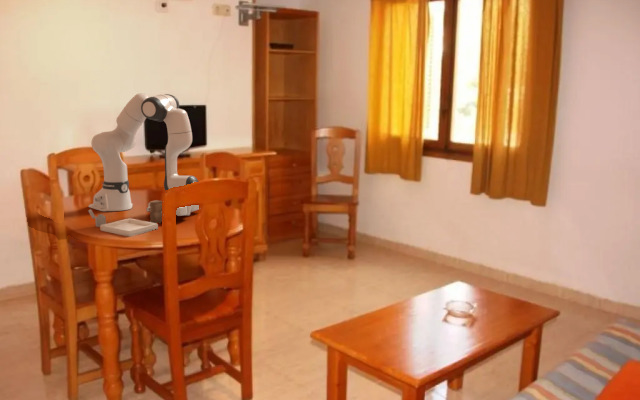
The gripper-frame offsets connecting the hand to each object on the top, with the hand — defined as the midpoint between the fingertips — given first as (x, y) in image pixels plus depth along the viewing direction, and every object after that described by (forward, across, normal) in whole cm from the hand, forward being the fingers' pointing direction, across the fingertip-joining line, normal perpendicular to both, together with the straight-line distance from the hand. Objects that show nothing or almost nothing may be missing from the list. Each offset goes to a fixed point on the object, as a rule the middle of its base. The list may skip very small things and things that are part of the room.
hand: (155, 211), depth 272 cm
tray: (+15, 0, +6) cm, 16 cm away
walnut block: (-1, 0, +6) cm, 6 cm away
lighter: (+19, -16, +6) cm, 26 cm away
